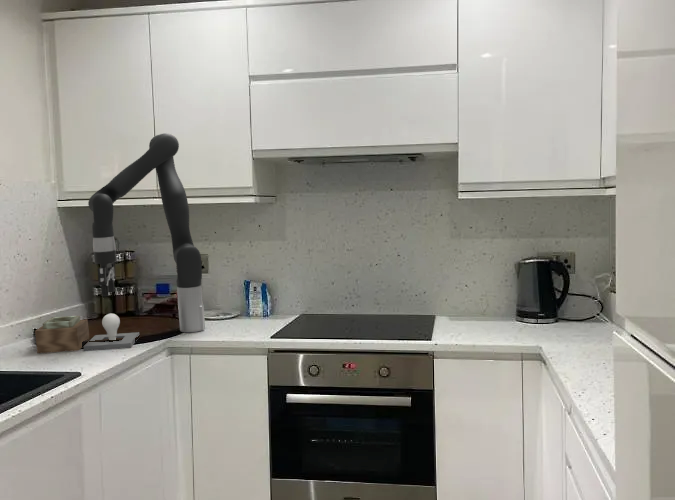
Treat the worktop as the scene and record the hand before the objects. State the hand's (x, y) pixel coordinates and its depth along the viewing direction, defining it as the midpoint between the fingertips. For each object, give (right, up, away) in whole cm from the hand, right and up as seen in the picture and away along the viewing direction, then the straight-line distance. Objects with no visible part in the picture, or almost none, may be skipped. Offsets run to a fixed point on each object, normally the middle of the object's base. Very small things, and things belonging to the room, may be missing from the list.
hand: (108, 294), depth 234 cm
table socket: (+1, -18, +2) cm, 18 cm away
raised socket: (-16, -19, 0) cm, 25 cm away
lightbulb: (+1, -18, +2) cm, 18 cm away
